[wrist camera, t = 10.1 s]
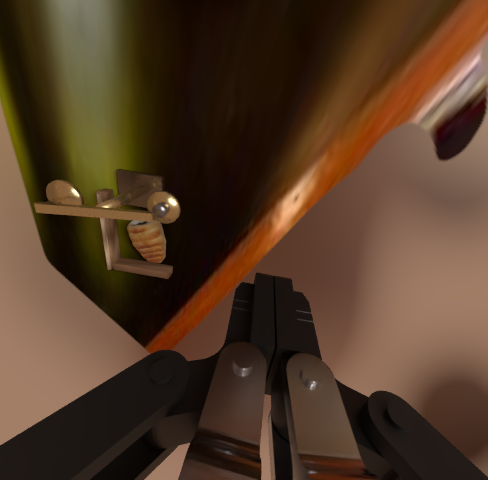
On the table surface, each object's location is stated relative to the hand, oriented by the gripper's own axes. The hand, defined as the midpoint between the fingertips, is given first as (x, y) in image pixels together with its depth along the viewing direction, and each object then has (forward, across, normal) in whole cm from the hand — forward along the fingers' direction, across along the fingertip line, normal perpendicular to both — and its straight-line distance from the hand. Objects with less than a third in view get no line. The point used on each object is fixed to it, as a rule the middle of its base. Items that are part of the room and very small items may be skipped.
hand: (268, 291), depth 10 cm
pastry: (+32, +20, +16) cm, 41 cm away
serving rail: (+31, +22, +16) cm, 42 cm away
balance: (+31, +22, +7) cm, 39 cm away
